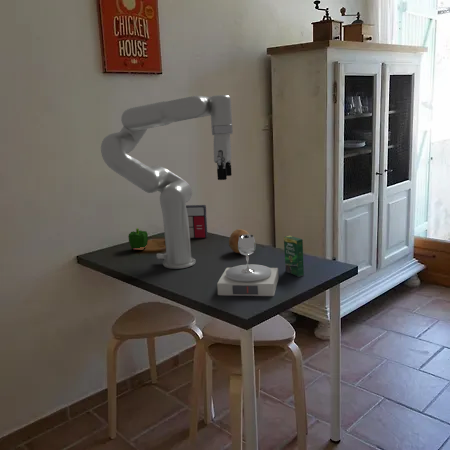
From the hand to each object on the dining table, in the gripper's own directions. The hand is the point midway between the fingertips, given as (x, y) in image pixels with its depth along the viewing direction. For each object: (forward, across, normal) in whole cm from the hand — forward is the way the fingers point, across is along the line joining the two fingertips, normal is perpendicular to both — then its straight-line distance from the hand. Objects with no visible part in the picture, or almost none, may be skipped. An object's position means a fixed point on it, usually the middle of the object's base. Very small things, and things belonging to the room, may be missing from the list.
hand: (224, 177), depth 189 cm
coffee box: (+34, +10, +25) cm, 43 cm away
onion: (+34, -15, +2) cm, 37 cm away
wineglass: (+28, +24, +11) cm, 38 cm away
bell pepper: (+34, -20, -44) cm, 59 cm away
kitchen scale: (+33, +24, +11) cm, 42 cm away
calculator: (+34, -40, -24) cm, 57 cm away
